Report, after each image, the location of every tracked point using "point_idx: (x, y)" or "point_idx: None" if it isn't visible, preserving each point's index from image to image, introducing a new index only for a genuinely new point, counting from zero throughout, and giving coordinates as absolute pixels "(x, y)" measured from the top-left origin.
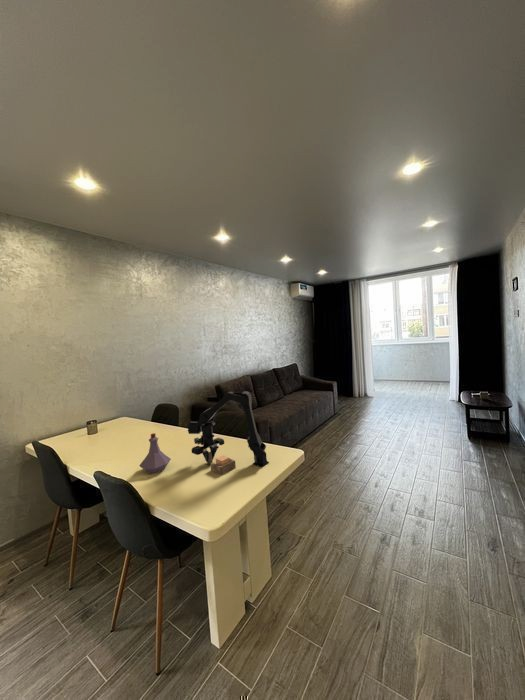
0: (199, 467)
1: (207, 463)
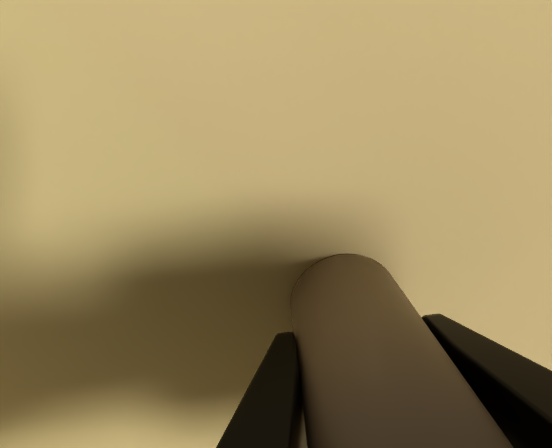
0: (115, 298)
1: (292, 315)
